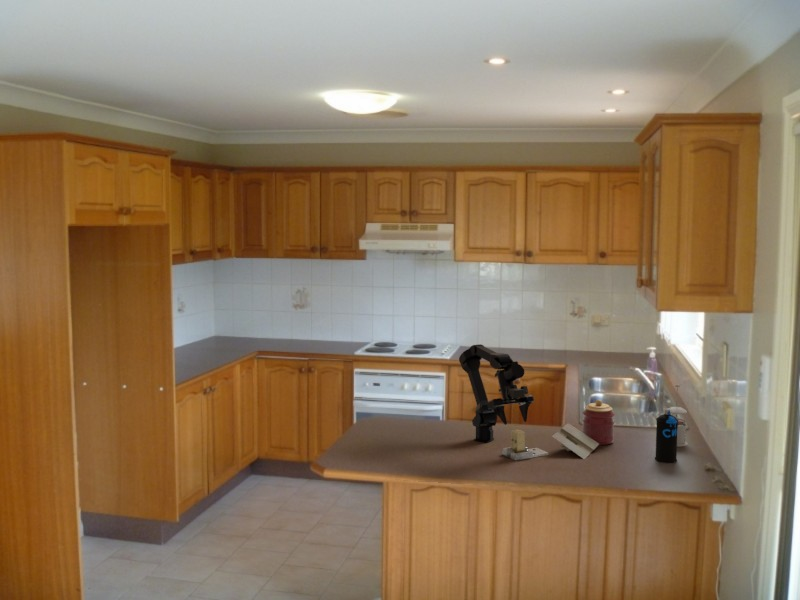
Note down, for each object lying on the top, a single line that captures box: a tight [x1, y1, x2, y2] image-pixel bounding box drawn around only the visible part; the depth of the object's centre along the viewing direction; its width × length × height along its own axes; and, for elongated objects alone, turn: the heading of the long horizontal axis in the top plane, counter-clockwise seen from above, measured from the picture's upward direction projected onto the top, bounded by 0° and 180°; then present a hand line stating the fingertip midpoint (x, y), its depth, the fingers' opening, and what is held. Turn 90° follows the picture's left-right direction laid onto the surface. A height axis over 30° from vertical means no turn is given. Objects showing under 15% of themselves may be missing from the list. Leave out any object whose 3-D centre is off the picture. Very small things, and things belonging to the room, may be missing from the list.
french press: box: [667, 383, 688, 447], centre depth 327 cm, size 10×12×25 cm
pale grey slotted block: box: [552, 423, 600, 460], centre depth 317 cm, size 16×9×15 cm
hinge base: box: [502, 445, 550, 461], centre depth 311 cm, size 17×9×3 cm, turn 115°
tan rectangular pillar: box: [510, 429, 526, 453], centre depth 309 cm, size 4×4×10 cm
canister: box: [582, 399, 615, 446], centre depth 330 cm, size 13×13×18 cm
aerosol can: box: [654, 408, 679, 464], centre depth 304 cm, size 8×8×20 cm
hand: (515, 423), depth 309 cm, fingers open, 9 cm apart
